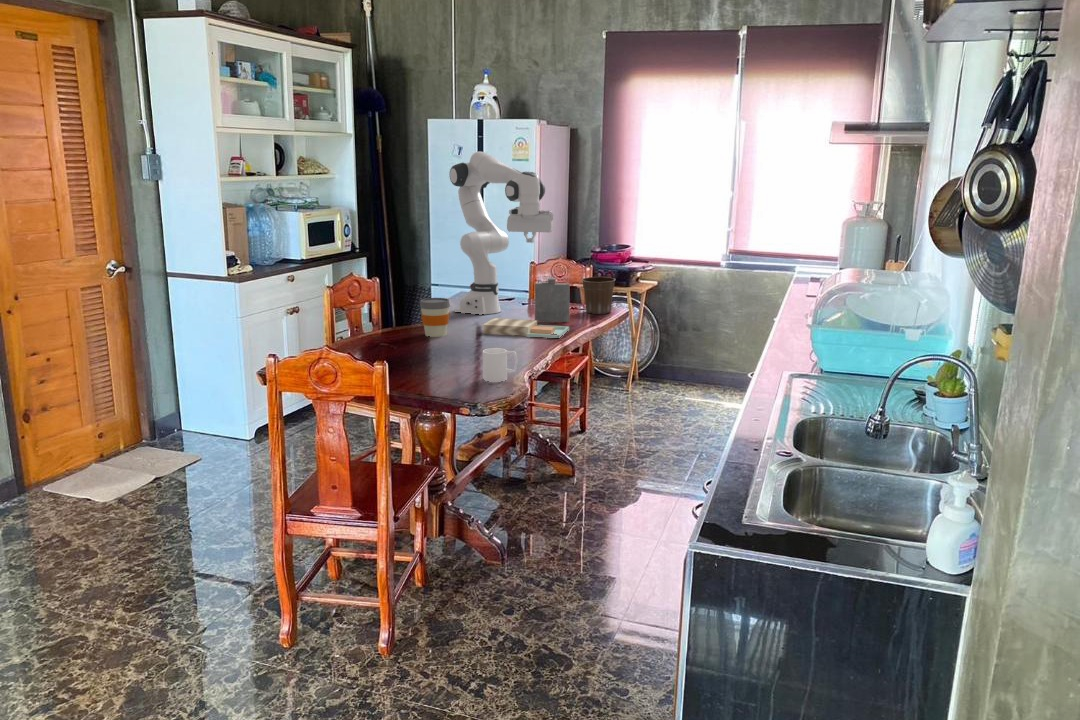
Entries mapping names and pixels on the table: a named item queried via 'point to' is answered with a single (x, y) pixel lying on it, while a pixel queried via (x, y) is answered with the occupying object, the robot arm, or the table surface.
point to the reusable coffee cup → (435, 316)
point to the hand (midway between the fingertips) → (530, 242)
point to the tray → (558, 330)
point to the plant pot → (598, 294)
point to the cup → (496, 364)
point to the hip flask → (552, 301)
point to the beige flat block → (509, 326)
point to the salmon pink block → (542, 330)
